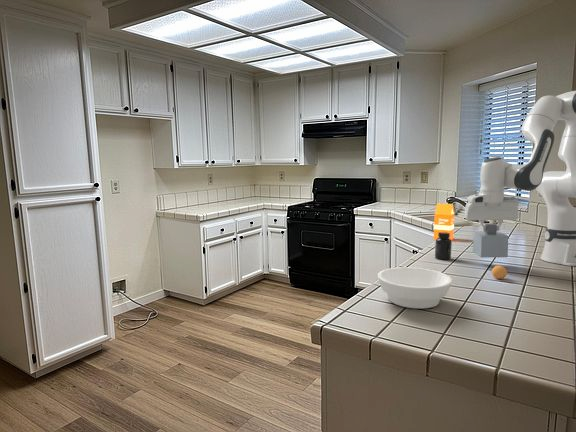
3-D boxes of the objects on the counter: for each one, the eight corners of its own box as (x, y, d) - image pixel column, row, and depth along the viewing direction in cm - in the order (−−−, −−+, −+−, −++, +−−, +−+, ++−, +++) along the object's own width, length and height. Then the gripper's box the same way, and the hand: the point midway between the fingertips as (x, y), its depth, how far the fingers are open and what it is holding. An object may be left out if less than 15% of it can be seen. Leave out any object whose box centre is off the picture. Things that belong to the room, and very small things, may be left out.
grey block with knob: (497, 251, 170) (498, 221, 168) (507, 257, 160) (508, 226, 158) (472, 251, 171) (473, 222, 169) (480, 257, 161) (481, 226, 159)
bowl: (443, 321, 111) (444, 292, 110) (366, 306, 123) (367, 280, 121) (457, 297, 130) (458, 272, 129) (389, 286, 142) (390, 263, 140)
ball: (503, 276, 151) (504, 264, 150) (508, 280, 146) (509, 267, 145) (489, 276, 152) (490, 263, 151) (494, 280, 147) (495, 267, 146)
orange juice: (437, 237, 229) (438, 203, 226) (453, 238, 224) (455, 203, 221) (433, 239, 222) (434, 204, 220) (449, 241, 217) (451, 205, 215)
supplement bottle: (452, 260, 176) (453, 234, 174) (436, 260, 177) (437, 233, 176) (449, 257, 183) (450, 231, 181) (433, 256, 184) (434, 231, 182)
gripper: (515, 195, 164) (513, 228, 166) (463, 197, 167) (462, 229, 169) (522, 197, 158) (520, 231, 160) (468, 198, 160) (467, 232, 162)
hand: (490, 230), depth 164 cm, fingers closed on grey block with knob, 3 cm apart
